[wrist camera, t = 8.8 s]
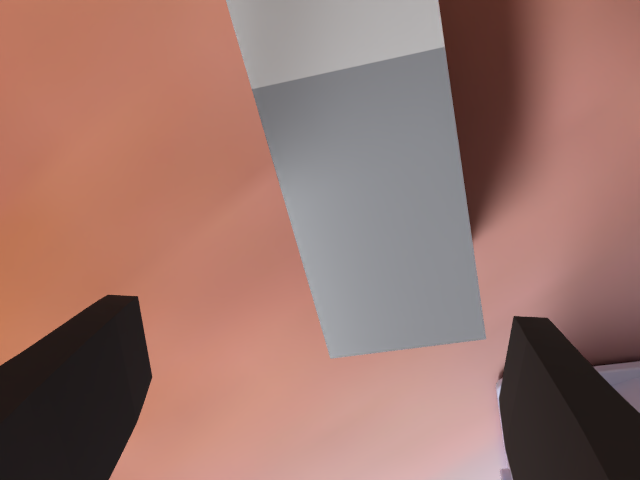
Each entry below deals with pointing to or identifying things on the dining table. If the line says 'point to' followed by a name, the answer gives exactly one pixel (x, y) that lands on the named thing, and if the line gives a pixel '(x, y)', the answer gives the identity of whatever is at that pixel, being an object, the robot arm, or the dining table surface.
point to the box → (367, 166)
